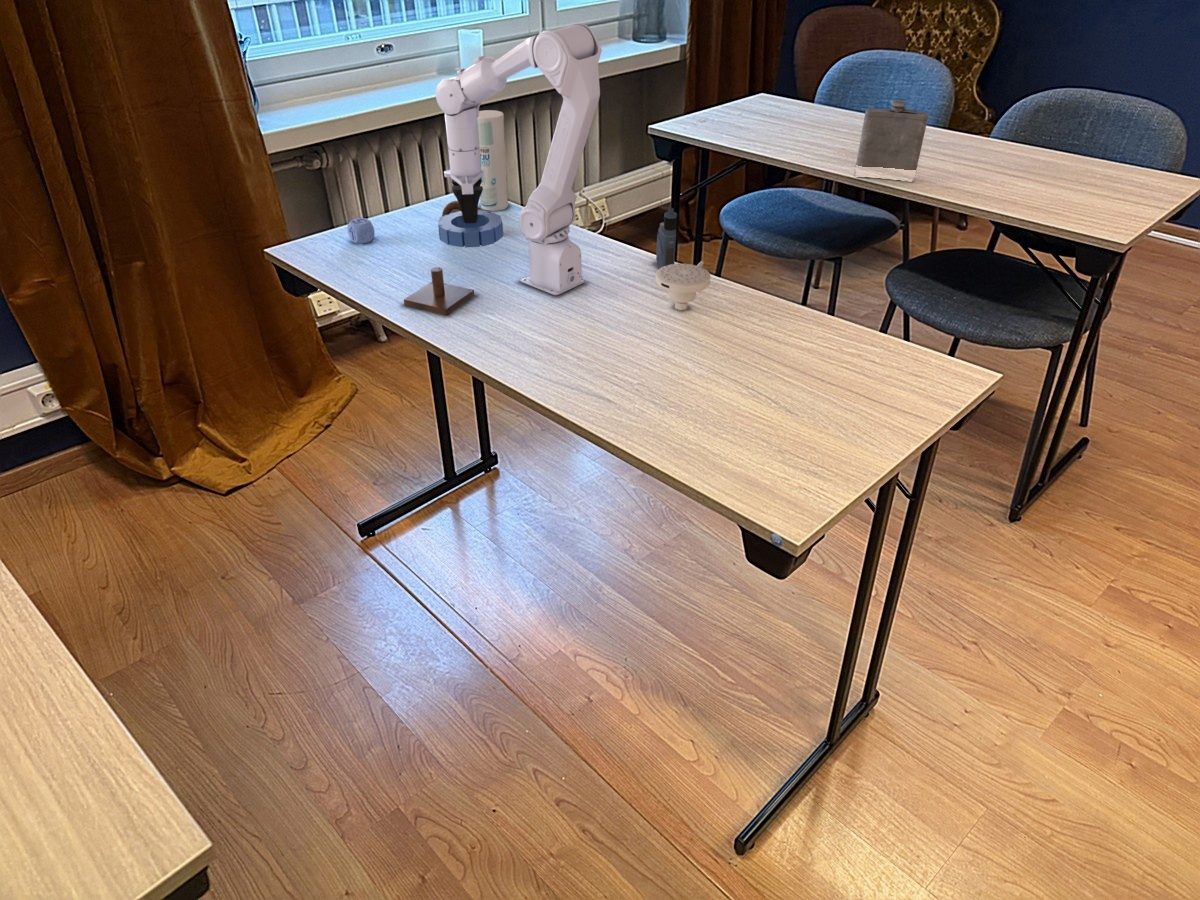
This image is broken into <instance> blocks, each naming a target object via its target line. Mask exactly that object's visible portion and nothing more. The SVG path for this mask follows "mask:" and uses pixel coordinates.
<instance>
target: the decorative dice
mask: <svg viewBox="0 0 1200 900" xmlns="http://www.w3.org/2000/svg"><path fill="white" fill-rule="evenodd" d="M347 233H348V237H349V238H350V240H351V241H352V242H353V243H355V244H360V245H361V244H367V243H370V242H371V241H372V240H373V239H374V237H375V234H376V233H375V227H374V225H373V223H372V221H371V220H370V219H368V218H366V217H357V218H353V219H351V220H350V221H349V222H348V224H347Z"/></svg>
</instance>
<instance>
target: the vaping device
mask: <svg viewBox="0 0 1200 900" xmlns="http://www.w3.org/2000/svg"><path fill="white" fill-rule="evenodd" d="M677 218H678V213H677V212H675V208H673V207H668V208H667V211H665V212H664V216H663V222H660V223H659V227H658V230H657V235H656V257H655V260H656V265H657V266H658V267H659V269H660V268H662V267H664V266H667V265H671V264H675V258H676V242H677Z"/></svg>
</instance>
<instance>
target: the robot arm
mask: <svg viewBox="0 0 1200 900" xmlns="http://www.w3.org/2000/svg"><path fill="white" fill-rule="evenodd" d="M602 52H603V49H602V47H601V45H600V43H599V40H598V38H597V37H596V34H595V32H594V31H593V29H592V28H591V27H590V26H588V25H587V24H585V23H583V22H577V23H574V24H571V25H570V26H565V27H562V28H561V27H560V28H557V29H553V30H544V31H542V32H540V33H539V34H535V35H532V36H530V37H528V38H526V39H525V40H524V41H522V42H521V43H519V44H518V45H516V46H515V47H513V48H511V49H510V50H509V51H508V52H506V53H505V54H503V55H502V56H500V57H499V58H494V57H492V56H486V57H485V56H484V55H481V56H478V57H476V58H474V59H473V63H474V64H472V65H471V66H469V67H468V68H460V69H459V70H457V71H456V76H454V77H450V78H442V79H441V81H440V82H438V83H437V85H436V88H435V100H436V103H437V105H438V107H439V109H441V111H442V112H443V113H444V121H445V131H446V139H447V140H446V141H447V142H446V143H447V151H448V161H449V169H447V170H444V171H443V174H444V178H451V184H452V185H451V191H452V193H453V196H455V198H456V201H458V202H459V205H460V208H461V212H462V215H463V219H464V222H465V223H476V220H477V211H478V207H479V204H480V203H479V202H480V196H481V194H482V191H483V186H480V185H481V183H482V176H483V171H482V169H481V159H480V146H479V133H478V120H477V118H478V116H479V111H480V106H481V105H482V103H483V102H484V101H486V100H488V99H489V98H492V97H494V96H495V95H496V94H498V93H500V92H502V91H504V89H505V88H506V86H507V80H508V78H510V77H512V76H514V75H516V74H518V73H521V72H522V71H524V70H526V69H528V68H529V67H532V68H533V69H537V68H538V69H539V70H540V72H541V73H542V74H543V76H545V78H546V80H548V81H549V83H550V84H551V85H552V87H553V88H554V89H555V90H556V92H557V93H558V94H559V95H561V97H562V104H561V108H560V110H559V111H560V112H559V115H558V118H557V122H556V124H555V125H556V126H555V129H554V133H553V137H552V140H551V143H550V146H549V151H548V154H547V157H546V161H545V165H544V169H543V171H542V176H541V178H540V182H539V184H538V186H537V187H536V188H535V190H533V192H532V193H531V194H530V195H529V197H528V199H527V202H526V205H525V206H524V207H523V208H522V209H521V211H519V214H518V224H519V228H520V230H521V232H522V234H523V235H524V236H525V239H526V240H527V241H528V262H529V274H528V275H525V276H524V277H521V278H520V279H519V281H520V282H521V283H523V284H525V285H528V286H529V287H533V288H535V289H538V290H540V291H543V292H545V293H548V294H550V295H553V296H560V295H562V294H563V293H565V292H567V291H569V290H572V289H574V288H576V287H578V286H580V285H582V284H584V283H585V279H583V278H582V250H581V248H580V247H579V245H578V244H577V243H575V242H573V241H572V240H571V239H570V236H569V233H570V226H572V224H573V223H574V221H575V219H576V213H577V212H576V200H577V197H578V196H577V194H576V192H575V191H574V190H573V189H572V187H573V185H574V181H575V178H576V175H577V172H578V168H579V165H580V162H581V159H582V155H583V153H584V149H585V146H586V142H587V140H588V136H589V134H590V130H591V127H592V124H593V120H594V117H595V114H596V111H597V107H598V105H599V102H600V97H601V88H600V74H599V73H600V71H599V61H600V58H601V54H602Z"/></svg>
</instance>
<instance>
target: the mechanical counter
mask: <svg viewBox="0 0 1200 900" xmlns="http://www.w3.org/2000/svg"><path fill="white" fill-rule="evenodd" d="M478 210H482V211H484V209H483V208H482V207H480V206H478ZM458 211H461V208H460V205H459V202H458V200H453V201H450V202H448V203H447V204H446V205H445V206H444V208H443V210H442V211H441V212H442V213H441V216H440V217H439V219H440V218H442V217H443V216H445V215H448V214H450V213H454V212H458Z"/></svg>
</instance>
